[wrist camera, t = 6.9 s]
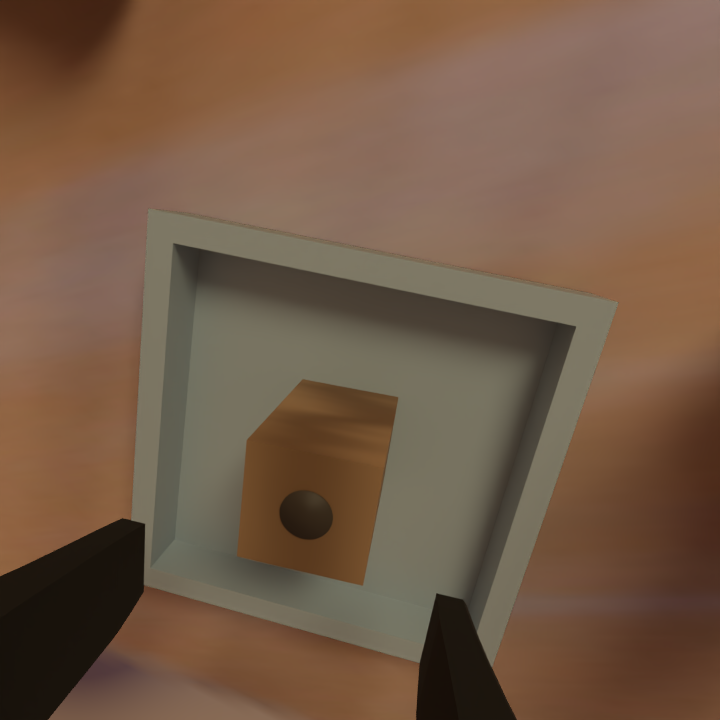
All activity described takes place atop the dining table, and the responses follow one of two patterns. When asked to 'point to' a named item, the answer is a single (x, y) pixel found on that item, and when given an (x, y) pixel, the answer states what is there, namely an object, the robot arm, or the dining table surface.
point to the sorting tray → (363, 372)
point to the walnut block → (316, 480)
